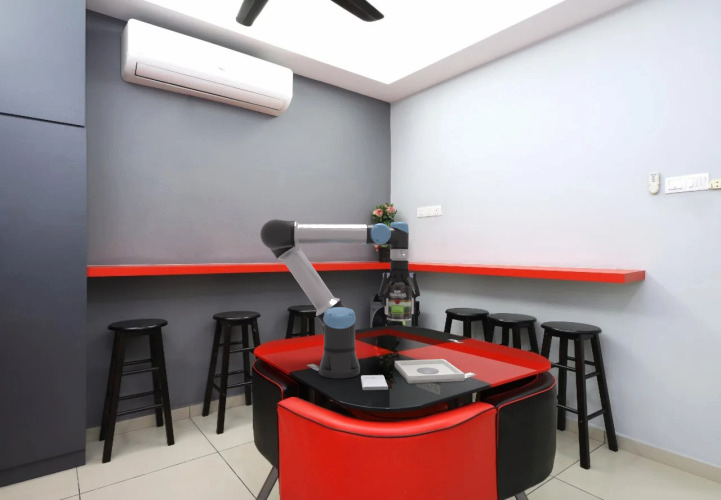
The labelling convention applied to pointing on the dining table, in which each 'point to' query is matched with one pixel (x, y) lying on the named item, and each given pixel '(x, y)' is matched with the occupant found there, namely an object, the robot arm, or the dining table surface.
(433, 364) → the tray
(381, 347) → the dining table surface
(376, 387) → the external hard drive
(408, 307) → the coffee can
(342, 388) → the dining table surface
